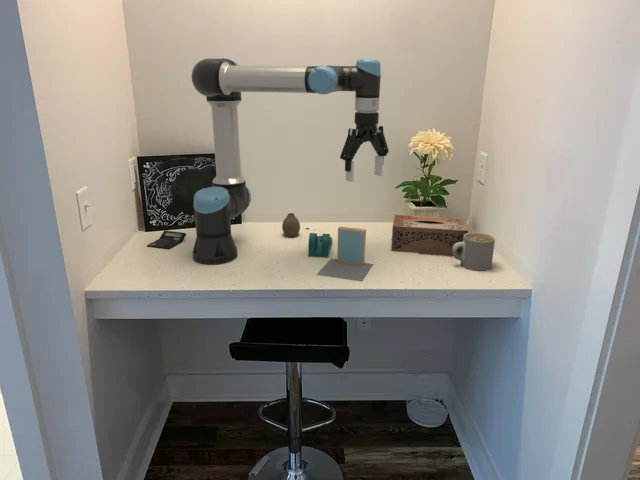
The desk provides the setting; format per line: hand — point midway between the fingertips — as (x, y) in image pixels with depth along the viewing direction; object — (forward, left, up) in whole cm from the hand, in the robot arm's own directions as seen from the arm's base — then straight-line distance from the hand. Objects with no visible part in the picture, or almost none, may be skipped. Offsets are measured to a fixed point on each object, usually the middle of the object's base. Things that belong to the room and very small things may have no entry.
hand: (364, 178), depth 165 cm
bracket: (-16, +4, -29) cm, 33 cm away
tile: (-2, -6, -28) cm, 28 cm away
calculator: (-72, -10, -29) cm, 78 cm away
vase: (-32, +14, -28) cm, 45 cm away
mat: (-2, -12, -28) cm, 31 cm away
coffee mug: (+36, +7, -28) cm, 46 cm away
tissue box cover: (+20, +19, -29) cm, 40 cm away
